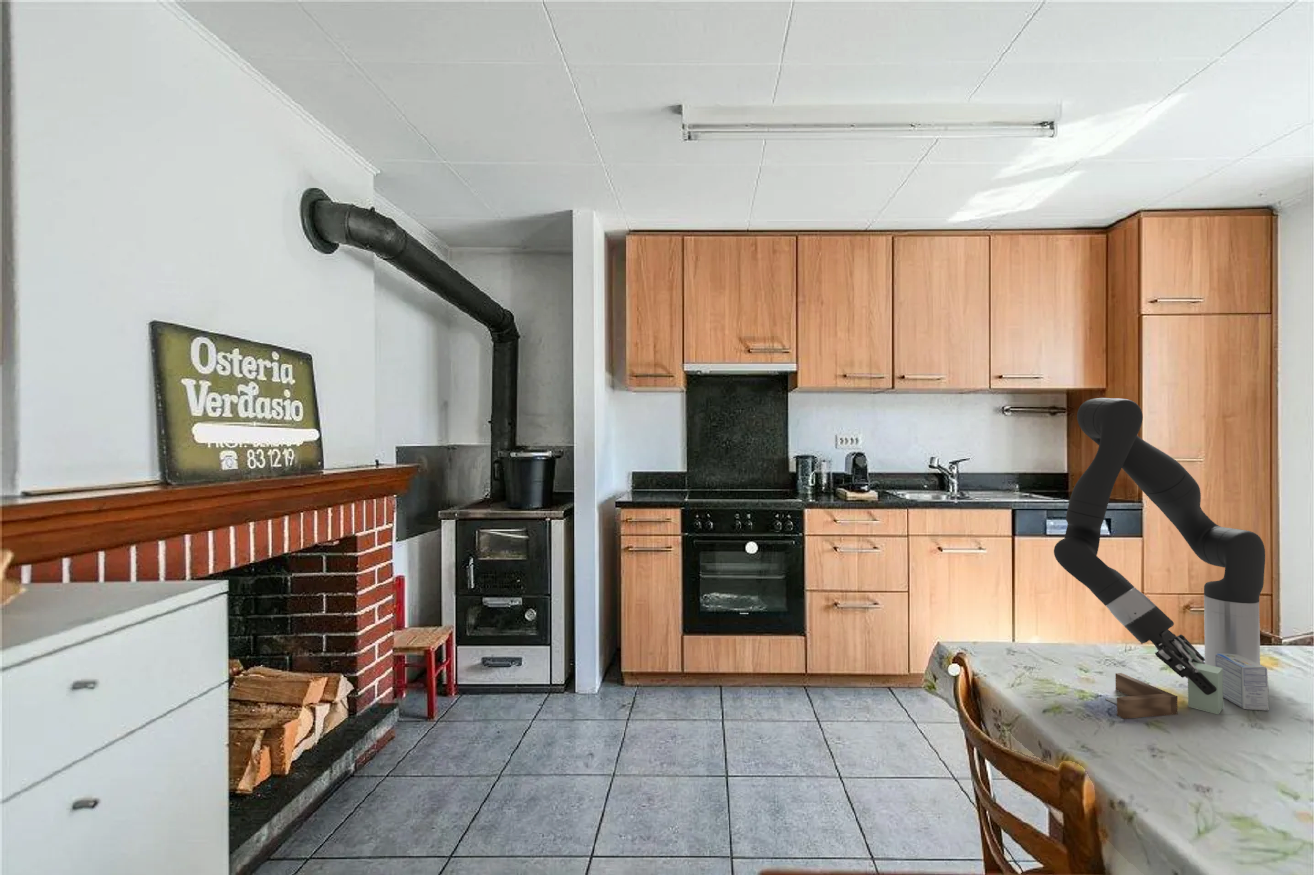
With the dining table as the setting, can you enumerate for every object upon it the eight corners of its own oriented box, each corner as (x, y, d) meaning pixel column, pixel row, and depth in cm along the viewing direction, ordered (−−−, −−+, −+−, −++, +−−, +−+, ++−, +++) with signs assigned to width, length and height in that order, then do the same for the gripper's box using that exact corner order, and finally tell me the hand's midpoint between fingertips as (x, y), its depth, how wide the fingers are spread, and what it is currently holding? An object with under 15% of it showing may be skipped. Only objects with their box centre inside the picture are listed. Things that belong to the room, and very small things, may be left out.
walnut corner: (1121, 689, 130) (1121, 673, 130) (1177, 714, 118) (1177, 696, 118) (1072, 693, 128) (1072, 676, 128) (1124, 718, 116) (1123, 700, 116)
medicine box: (1269, 711, 119) (1269, 667, 119) (1242, 709, 120) (1242, 666, 120) (1239, 695, 127) (1239, 653, 127) (1214, 693, 128) (1214, 652, 128)
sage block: (1193, 700, 124) (1192, 661, 124) (1223, 708, 120) (1222, 667, 121) (1188, 706, 121) (1187, 666, 121) (1218, 714, 118) (1217, 673, 118)
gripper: (1144, 611, 123) (1226, 689, 113) (1163, 599, 132) (1240, 671, 122) (1113, 630, 127) (1189, 708, 117) (1133, 618, 136) (1205, 689, 126)
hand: (1214, 688), depth 120 cm, fingers closed on sage block, 4 cm apart
